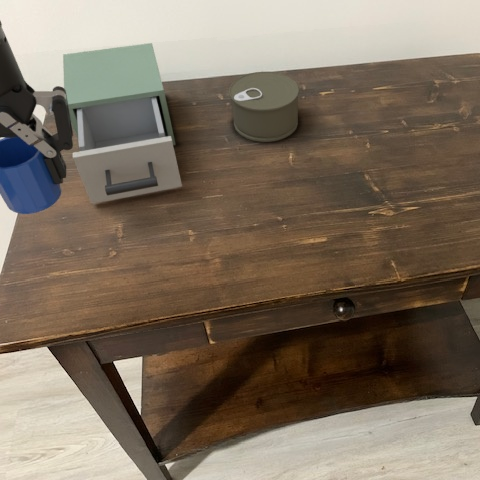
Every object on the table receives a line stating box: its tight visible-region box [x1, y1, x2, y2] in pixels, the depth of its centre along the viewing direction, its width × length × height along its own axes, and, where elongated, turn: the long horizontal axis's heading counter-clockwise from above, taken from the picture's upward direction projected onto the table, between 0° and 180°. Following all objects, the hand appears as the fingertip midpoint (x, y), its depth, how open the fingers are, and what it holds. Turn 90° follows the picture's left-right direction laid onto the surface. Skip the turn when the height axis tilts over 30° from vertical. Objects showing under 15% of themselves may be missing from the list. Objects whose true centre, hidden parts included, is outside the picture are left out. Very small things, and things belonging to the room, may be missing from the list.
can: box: [228, 71, 300, 143], centre depth 94 cm, size 12×12×7 cm
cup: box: [0, 137, 62, 215], centre depth 57 cm, size 6×6×6 cm
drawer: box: [72, 96, 183, 205], centre depth 81 cm, size 20×14×9 cm
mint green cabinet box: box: [62, 42, 176, 146], centre depth 91 cm, size 16×15×11 cm
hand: (28, 184), depth 58 cm, fingers closed on cup, 5 cm apart
